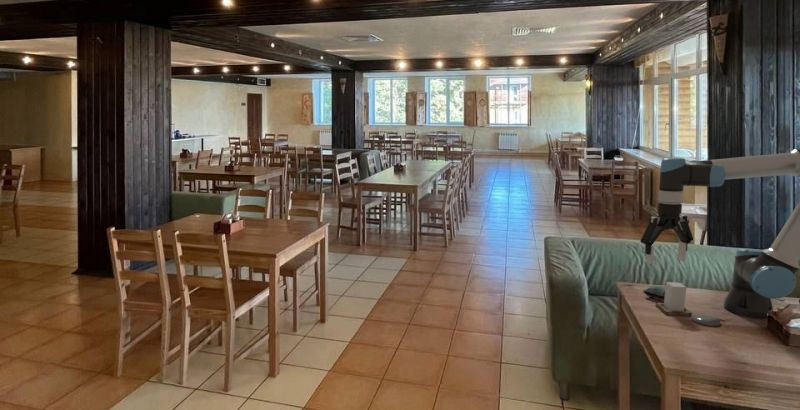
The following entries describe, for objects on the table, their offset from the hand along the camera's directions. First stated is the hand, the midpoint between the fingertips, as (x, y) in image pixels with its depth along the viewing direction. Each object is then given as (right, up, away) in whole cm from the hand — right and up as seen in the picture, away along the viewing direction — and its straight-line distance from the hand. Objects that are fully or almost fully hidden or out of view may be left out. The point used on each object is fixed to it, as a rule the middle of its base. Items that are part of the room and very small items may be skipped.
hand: (665, 261), depth 188 cm
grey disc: (+12, -20, -4) cm, 24 cm away
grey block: (+6, -19, +6) cm, 20 cm away
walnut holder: (+6, -18, +6) cm, 20 cm away
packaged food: (+8, -17, +19) cm, 27 cm away
